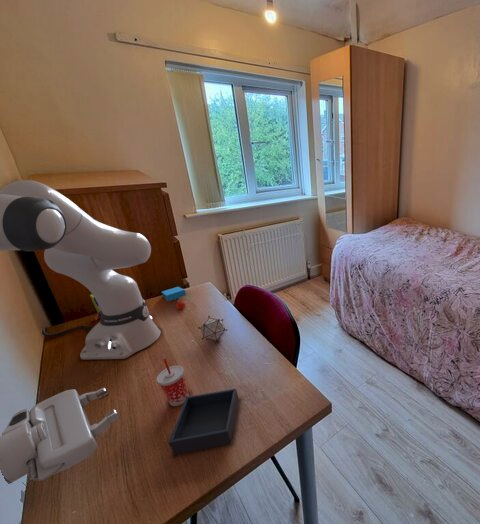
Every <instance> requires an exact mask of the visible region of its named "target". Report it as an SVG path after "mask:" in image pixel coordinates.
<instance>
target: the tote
mask: <svg viewBox="0 0 480 524" xmlns="http://www.w3.org/2000/svg"><path fill="white" fill-rule="evenodd" d="M239 401H240V399H239V394H238V391H237V388H230V389H225V390H219V391H213V392H207V393H202V394H195V395H189V396H188V397H186V399H185V402H184V403H183V404H182V408H181V409H180V412H179V415H178V418H177V421H176V423H175V426H174V428H173V431H172V433H171V437H170V439H169V441H168V444H169V446H170V448H171V451H172V453H173V455H174V456H175V455H182V454H184V453H191V452H197V451H200V450H206V449H211V448H216V447H220V446H225V445H231V444H232V442H233V435H234V430H235V425H236V419H237V413H238V407H239Z"/></svg>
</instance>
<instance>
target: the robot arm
mask: <svg viewBox="0 0 480 524" xmlns="http://www.w3.org/2000/svg"><path fill="white" fill-rule="evenodd" d="M0 251H23V252H39V251H44V253H43V259H44V262H45V264H46V265H47V267H48V268H49V269H50V270H52V271H53V272H55V273H57V274H61V275H63V276H66V277H69V278H71V279H73V280H75V281H76V282H78V283H80V284H81V285H82V286H83V287H85V288H86V289H87V290H88V291H89V292H90V293H91V294H93V296H94V297H95V299H96V301H97V303H98V305H99V307H100V309H101V311H99V312H97V314H96V315H95V317H94V319H95V321H98V319H99V321H98V322H97V323H96V324H95V326H93V327H90V326H88V325H78V326H74V327H71V328H67V329H65V330H62V331H58V332H54V333H47V332H46V331H45V327H44V326H41V327H42V333H41V334H42V336H43V337H47V338H51V337H56V336H60V335H63V334H66V333H69V332H72V331H75V330H78V329H86V331H87V334H86V336H85V340H84V343H85V345H84V347H83V348H82V350H81V352H80V353H79V354H80V355H79V357H80V360H85V361H86V360H124V359H127V358H129V357H131V356H132V355H134V354H135V353H137V352H139V351H141V350H142V351H143V350H144V349H145V348H148V347H150V346H151V345H152V344H154V343H155V342H156V341H157V340H158V339H159V338H160V337H161V334H162V331H161V329H160V328H159V327H158V326H157V325H156V324H155V321H154V320H153V317H152V316H151V315H150V311H149V308H148V305H147V303H146V301H145V299H144V298H143V296H142V293H141V291H140V288H139V286H138V283H137V281H135V279H133V278H132V277H130V276H128V275H124V274H120V273H118V272H116V271H115V270H118V269H126V268H131V267H135V266H138V265H142V264H144V263H146V262H147V261H148V260H149V259H150V257H151V254H152V246H151V244H150V242H149V240H148V239H147V238H146V236H144V235H143V234H141V233H139V232H132V231H127V230H123V229H119V228H116V227H113V226H111V225H109V224H105V223H102V222H100V221H98V220H96V219H94V218H93V217H92V216H90V215H89V214H88V213H86V212H85V211H84V209H82V208H81V207H79V206H78V205H77V204H76V203H74V202H73V201H72V200H71V199H69V198H68V197H67V196H65V195H63V194H62V193H60V192H59V191H58V190H56V189H54V188H52V187H51V186H48V185H47V184H45V183H42V182H39V181H36V180H29V179H23V180H16V181H13V182H10V183H8V184H6V185H4V186H3V187H2V188H1V189H0ZM108 396H109V392H108V390H107V388H106V387H102V388H100V389H97V390H96V391H89V392H85V393H83V394H80V395H79V393H78V391H77V390H76V389H66V390H65V391H62V392H59V393H57V394H55V395H52V396H50V397H49V398H46V399H44V400H42V401H40V402H38V403H36V404H35V405H33V407H31V408H30V410H29V409H28V408H24V409H22V410H19V411H17V412H15V413H14V414H13V415H12V416H11V418H10V421H9V422H8V424H7V426H6V427H5V429H4V430H3V431H2V433H1V435H0V470H1V473H2V475H3V476H4V479H5V481H6V482H7V483H8V484H9V485H11V484H13V483H14V482H15V481H17V480H19V479H21V478H23V477H24V476H26V475H28V479H29V480H30V481H31V482H33V481H34V482H39V481H41V482H42V481H45V480H47V479H48V478H50V477H52V476H53V475H57V474H59V473H62V472H64V471H66V470H68V469H70V468H72V467H74V466H75V465H78V464H79V463H82V462H83V461H84V460H86V459H88V458H90V457H91V456H93V454H95V453H96V451H97V450H98V448H99V445H98V443H97V440H96V438H97V437H99V436H100V435H102V434H103V433H104V432H105V431H106V429H108V428H109V426H110V425H111V424H112V423H115V422H116V421H118V420H119V419H120V415H119V413H118V412H117V410H116V409H113V410H111V411H109V412H108V413H105V417H104V418H103V419H102V420H100V421H99V422H98V423H94V424H92V425H91V424H90V420H89V418H88V416H87V415H88V414H87V412H86V409H85V406H86V405H89V404H90V402H92V401H95V400H99V401H101V400H104V398H107V397H108Z"/></svg>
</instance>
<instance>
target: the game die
mask: <svg viewBox="0 0 480 524" xmlns="http://www.w3.org/2000/svg"><path fill="white" fill-rule="evenodd" d="M207 316H208V317H207V320H206V321H205V322H204V323H203V324H202V325H201V327H200V326H199V327H197V329H200V331H201V334H202V338H201V340H204V339H207V340H211V341H215V342H216V343H218V342H219V341H218V339H220V338H221V336H222V335H223V334H224V333H225V332H227V331H228V329H227V328H226V327H225V325H224V322H223V321H224V318H222V319H221V318H218V319H217V318H213V317H211V315H207Z"/></svg>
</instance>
